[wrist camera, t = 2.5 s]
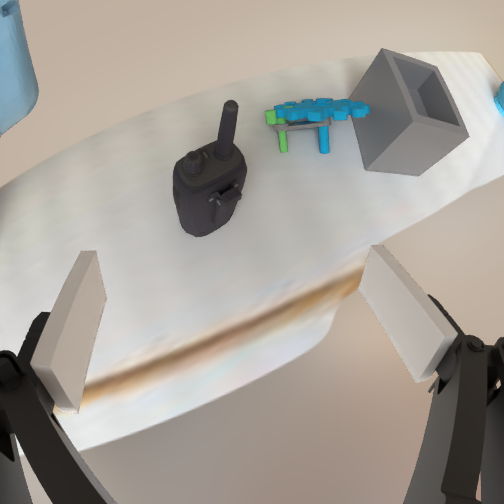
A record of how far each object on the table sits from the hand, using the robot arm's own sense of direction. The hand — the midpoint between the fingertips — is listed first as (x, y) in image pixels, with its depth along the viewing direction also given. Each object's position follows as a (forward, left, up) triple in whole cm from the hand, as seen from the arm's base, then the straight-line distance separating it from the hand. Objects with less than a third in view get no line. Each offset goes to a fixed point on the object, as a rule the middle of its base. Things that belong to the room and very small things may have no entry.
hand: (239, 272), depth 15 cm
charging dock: (+20, +18, -13) cm, 30 cm away
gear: (+10, +18, -14) cm, 25 cm away
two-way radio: (-1, +7, -14) cm, 15 cm away
